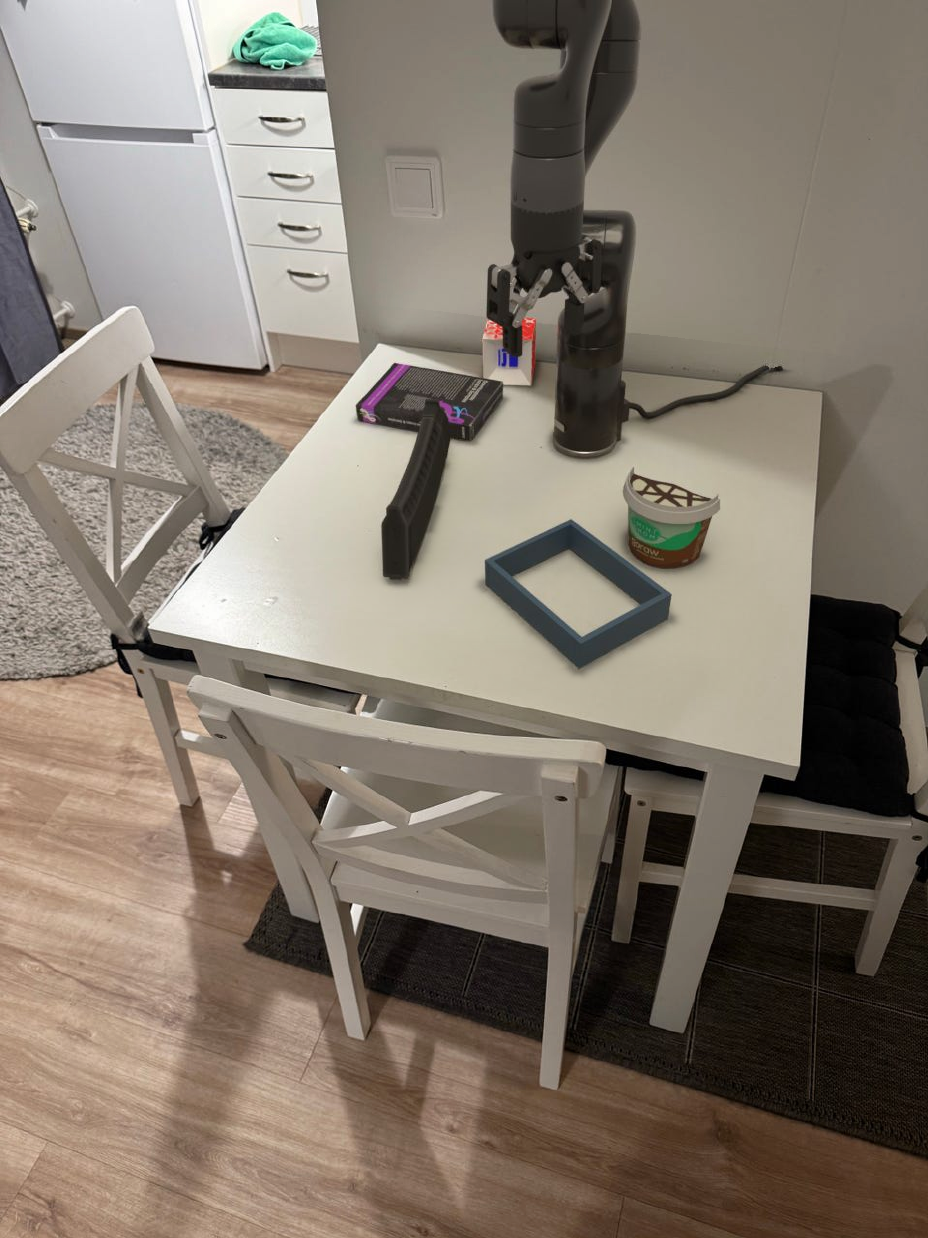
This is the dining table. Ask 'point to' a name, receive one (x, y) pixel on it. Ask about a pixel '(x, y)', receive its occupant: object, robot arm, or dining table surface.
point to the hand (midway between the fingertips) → (543, 343)
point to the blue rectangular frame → (598, 557)
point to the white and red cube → (502, 363)
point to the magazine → (415, 494)
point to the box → (410, 386)
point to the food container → (666, 521)
